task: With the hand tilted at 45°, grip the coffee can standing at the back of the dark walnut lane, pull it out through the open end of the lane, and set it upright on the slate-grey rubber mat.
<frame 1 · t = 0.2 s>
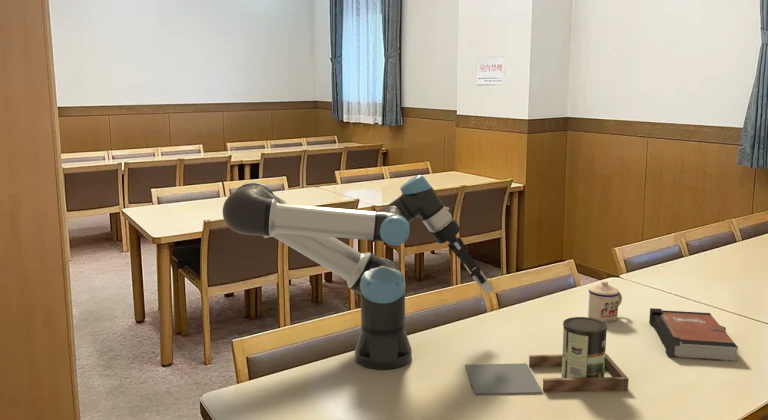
hand: (484, 285, 183), 16 cm above the table, tool tilted 35°, fingers open, 13 cm apart
walnut lane: (574, 377, 161), on the table
teacup with lid: (606, 317, 202), on the table
book: (690, 342, 183), on the table
rubber mat: (501, 379, 160), on the table
coffee can: (582, 378, 161), resting in walnut lane
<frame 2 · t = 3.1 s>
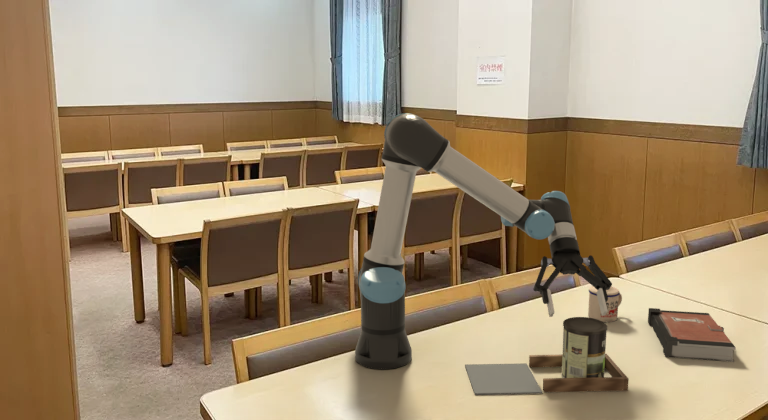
hand: (578, 314, 166), 14 cm above the table, tool tilted 45°, fingers open, 13 cm apart
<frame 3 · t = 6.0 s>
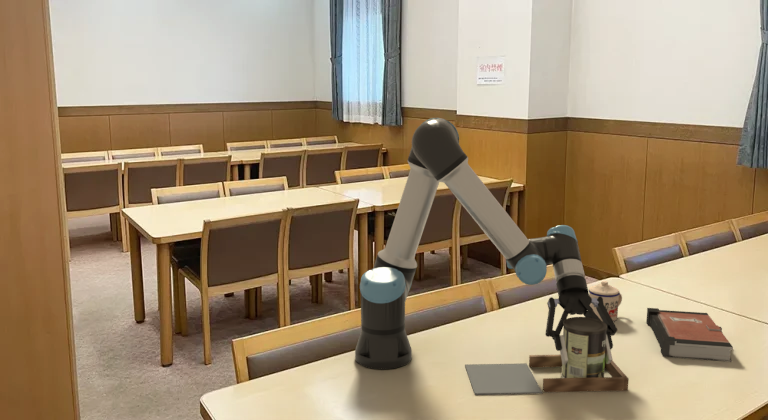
hand: (587, 362, 157), 5 cm above the table, tool tilted 45°, fingers closed on coffee can, 10 cm apart
coffee can: (582, 378, 161), resting in walnut lane, touching gripper
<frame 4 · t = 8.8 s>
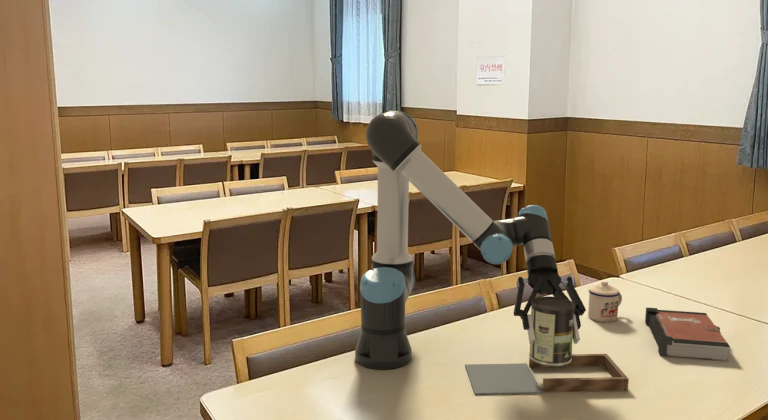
hand: (554, 341, 155), 11 cm above the table, tool tilted 45°, fingers closed on coffee can, 10 cm apart
coffee can: (550, 358, 159), point 5 cm above the table, touching gripper
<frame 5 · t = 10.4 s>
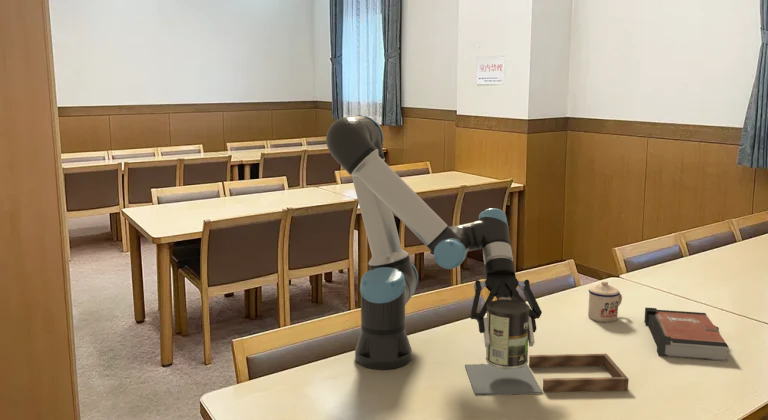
hand: (509, 344, 156), 10 cm above the table, tool tilted 45°, fingers closed on coffee can, 10 cm apart
coffee can: (506, 361, 160), point 5 cm above the table, touching gripper
when the fingers open (7 cm above the table, at t = 11.7 s): coffee can drops 1 cm, resting on rubber mat.
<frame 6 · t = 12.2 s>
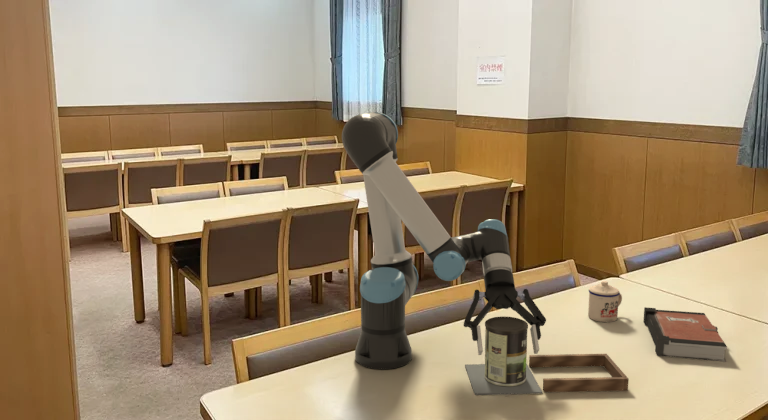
hand: (508, 352, 157), 8 cm above the table, tool tilted 45°, fingers open, 13 cm apart
coffee can: (504, 378, 160), resting on rubber mat
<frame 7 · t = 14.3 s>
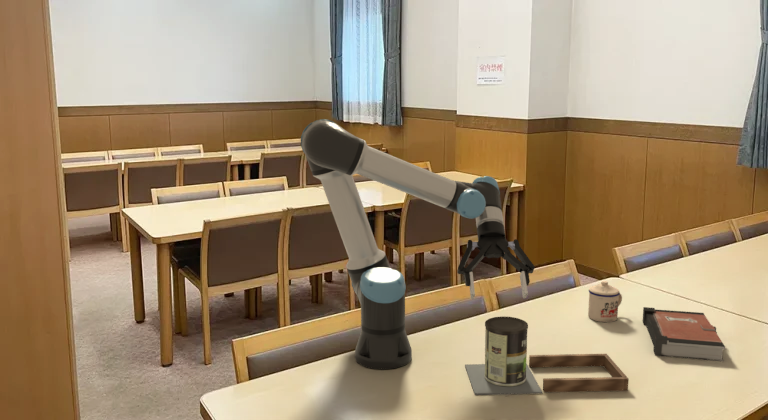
hand: (499, 296, 167), 18 cm above the table, tool tilted 45°, fingers open, 13 cm apart
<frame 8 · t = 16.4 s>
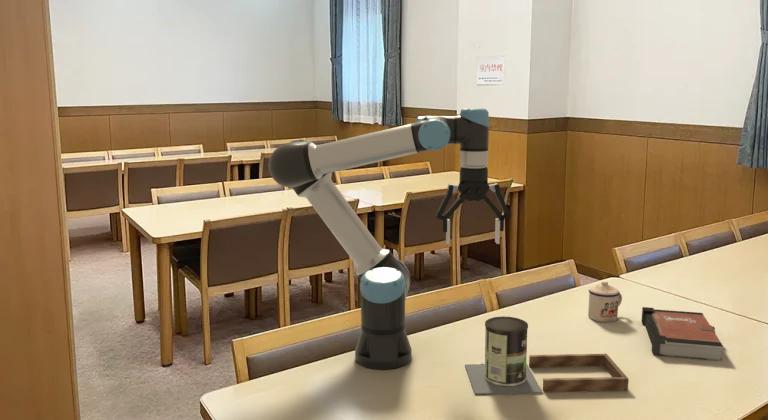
hand: (472, 243, 178), 29 cm above the table, tool pointing down, fingers open, 13 cm apart
at the end: coffee can inside the target area on the rubber mat (0.8 cm from its centre), point 0.2 cm above the rubber mat's base; coffee can tilted 0°; the gripper is holding nothing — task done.
